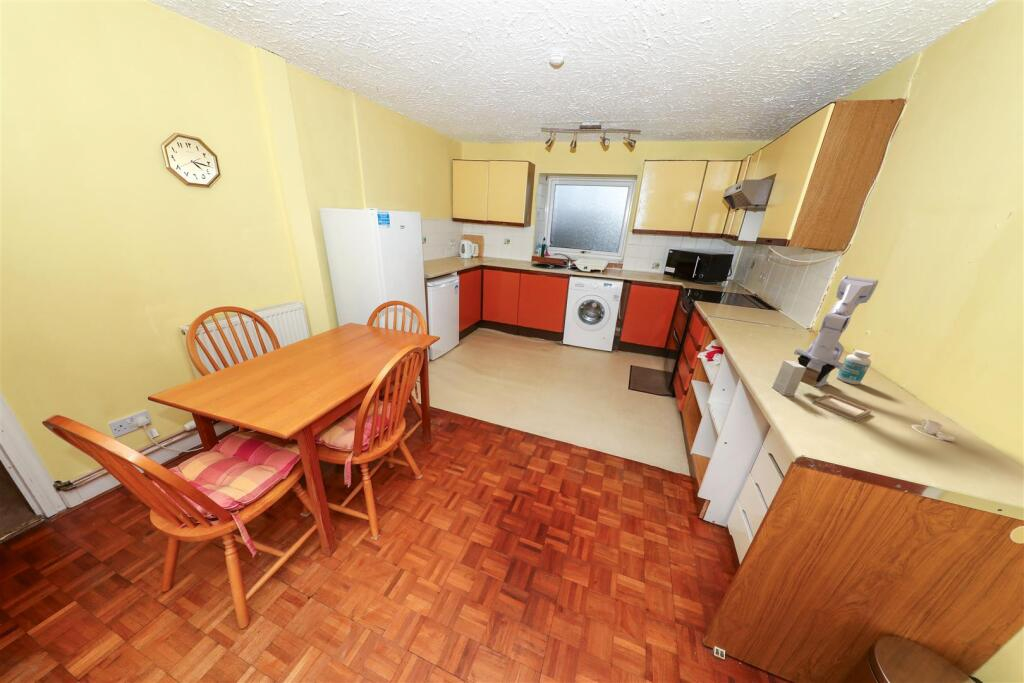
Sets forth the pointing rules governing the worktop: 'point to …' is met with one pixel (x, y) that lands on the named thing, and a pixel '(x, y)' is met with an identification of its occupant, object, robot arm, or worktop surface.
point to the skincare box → (788, 378)
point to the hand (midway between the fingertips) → (809, 378)
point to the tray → (842, 407)
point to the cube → (810, 376)
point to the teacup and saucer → (934, 430)
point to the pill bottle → (855, 367)
